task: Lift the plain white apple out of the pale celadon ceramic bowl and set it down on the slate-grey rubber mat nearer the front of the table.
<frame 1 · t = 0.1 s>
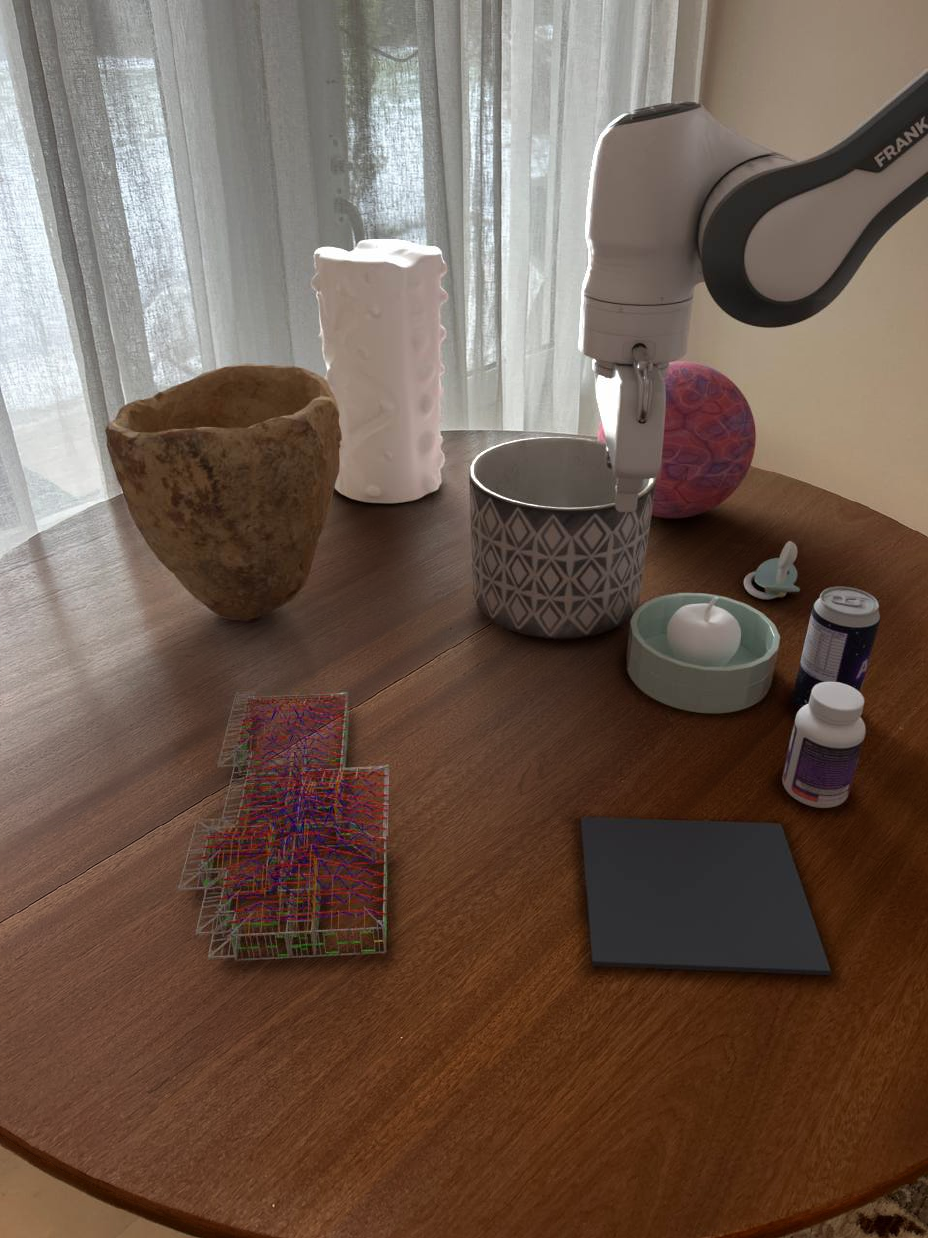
hand: (619, 486, 83), 20 cm above the table, tool pointing down, fingers open, 8 cm apart
vase: (387, 484, 134), on the table
decorative sphere: (666, 512, 126), on the table
pill bottle: (813, 789, 79), on the table
planter: (554, 608, 104), on the table
fruit bowl: (697, 670, 93), on the table
bowl: (251, 610, 104), on the table
pacifier: (769, 590, 108), on the table
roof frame: (298, 822, 76), on the table
plain white apple: (698, 667, 93), resting on fruit bowl
mat: (693, 891, 69), on the table
beverage can: (821, 710, 88), on the table
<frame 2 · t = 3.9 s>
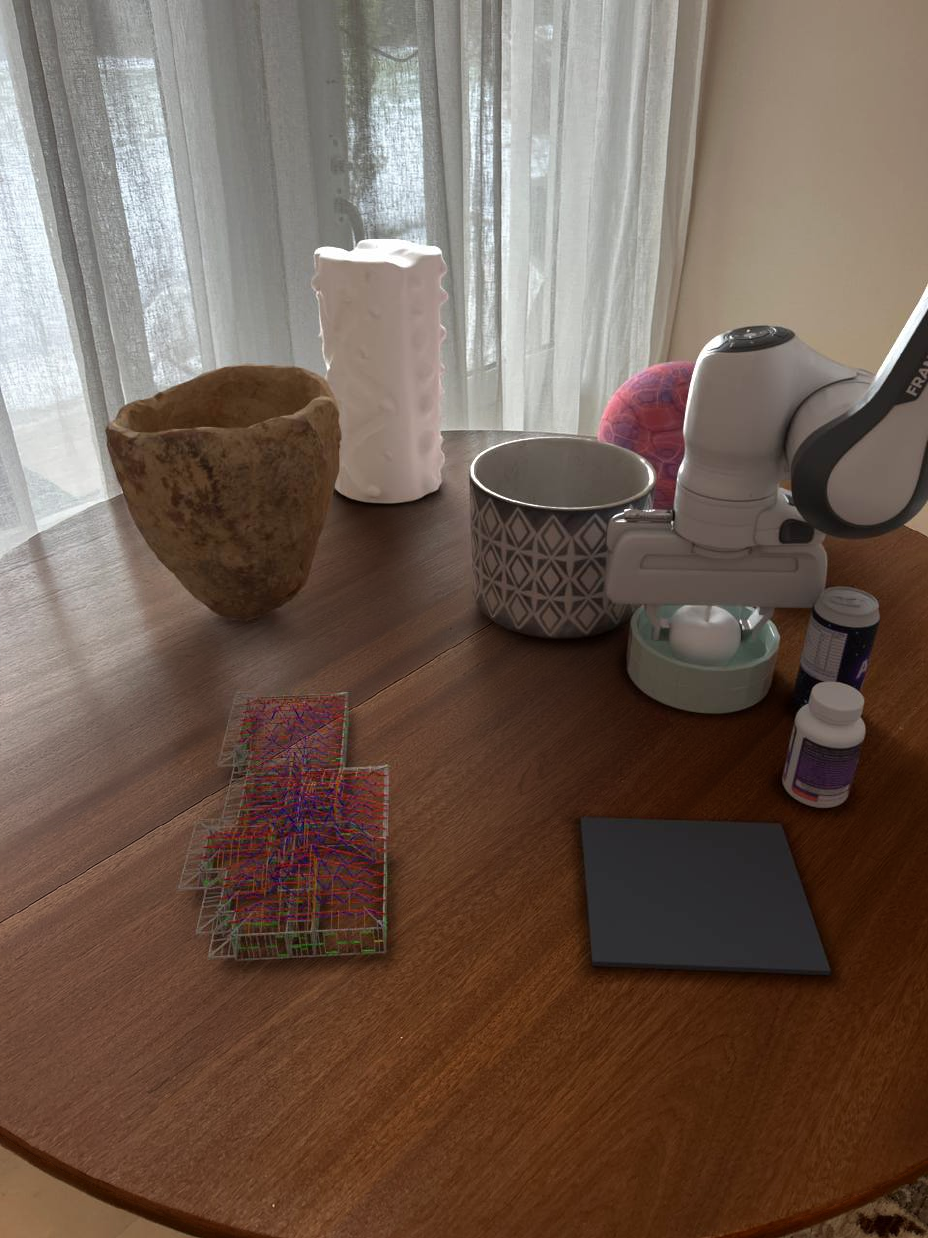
hand: (703, 639, 91), 4 cm above the table, tool pointing down, fingers closed on plain white apple, 7 cm apart
plain white apple: (698, 667, 93), resting on fruit bowl, touching gripper
everything else where it was.
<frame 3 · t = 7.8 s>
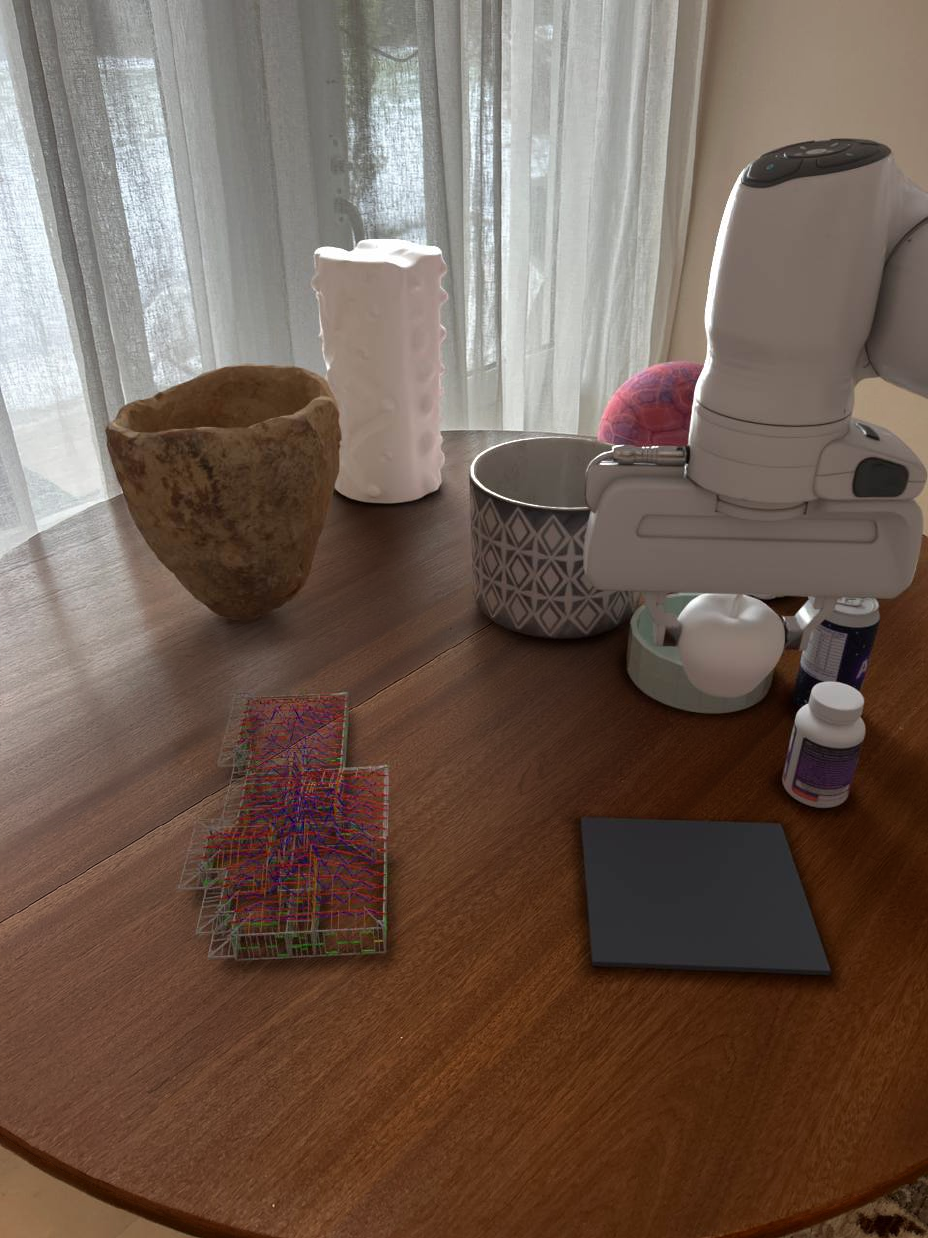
hand: (728, 643, 62), 19 cm above the table, tool pointing down, fingers closed on plain white apple, 7 cm apart
plain white apple: (720, 685, 64), point 16 cm above the table, touching gripper
everything else where it was.
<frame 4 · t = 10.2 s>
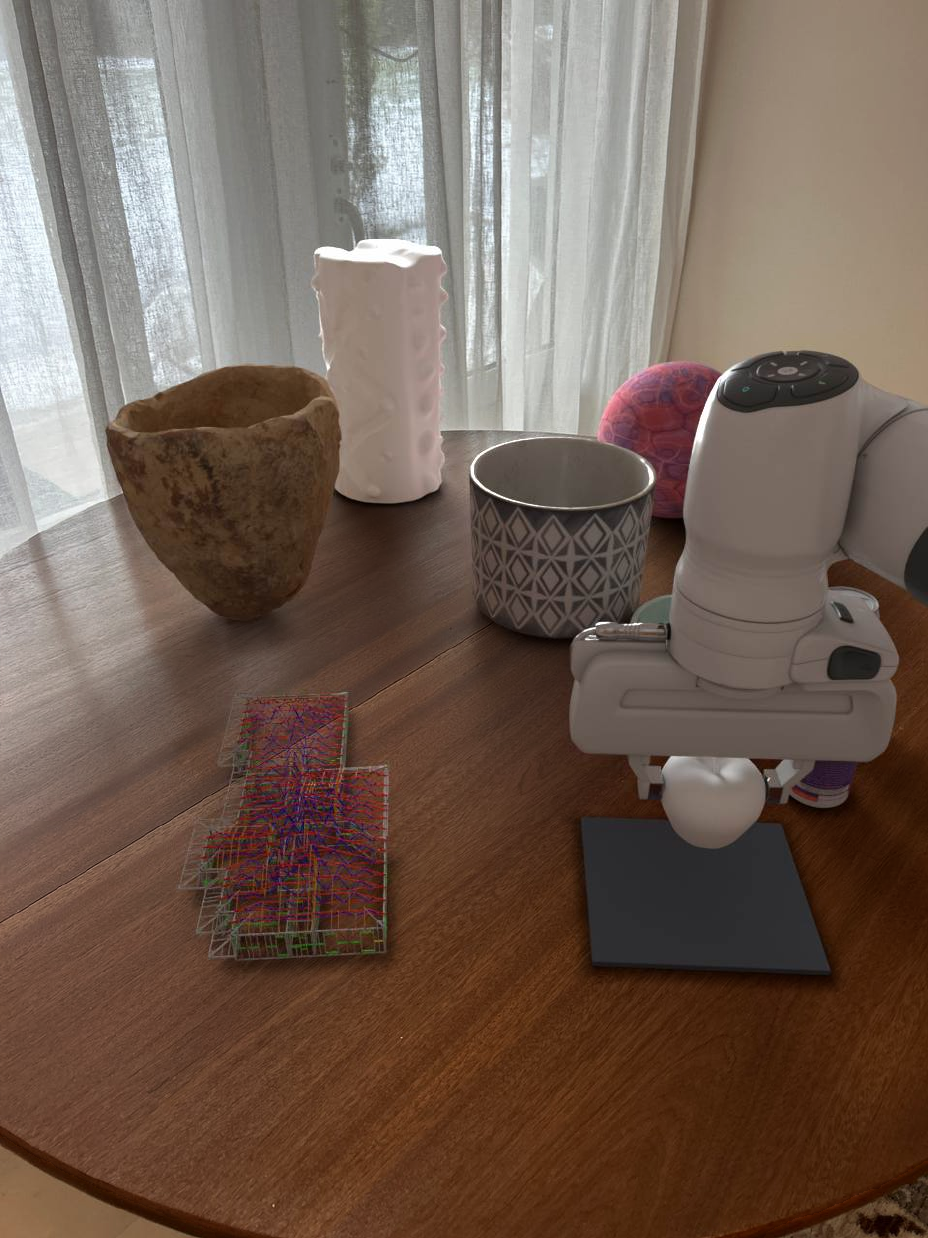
hand: (711, 795, 64), 9 cm above the table, tool pointing down, fingers closed on plain white apple, 7 cm apart
plain white apple: (704, 831, 66), point 6 cm above the table, touching gripper
everything else where it was.
when the fingers open (4 cm above the table, at t = 12.2 s): plain white apple stays where it is, resting on mat.
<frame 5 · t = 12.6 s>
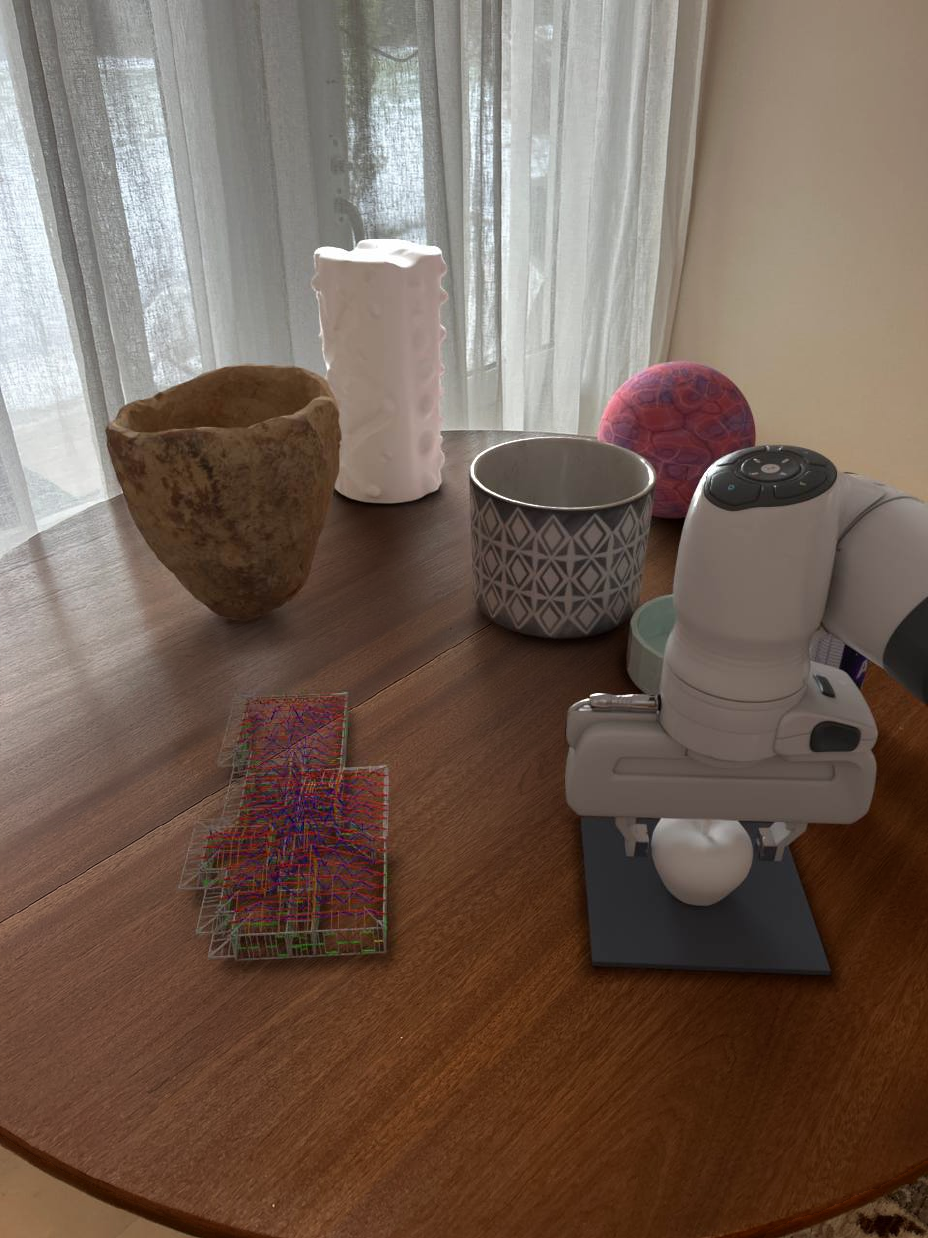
hand: (701, 852, 67), 4 cm above the table, tool pointing down, fingers open, 8 cm apart
plain white apple: (694, 887, 69), resting on mat
everything else where it was.
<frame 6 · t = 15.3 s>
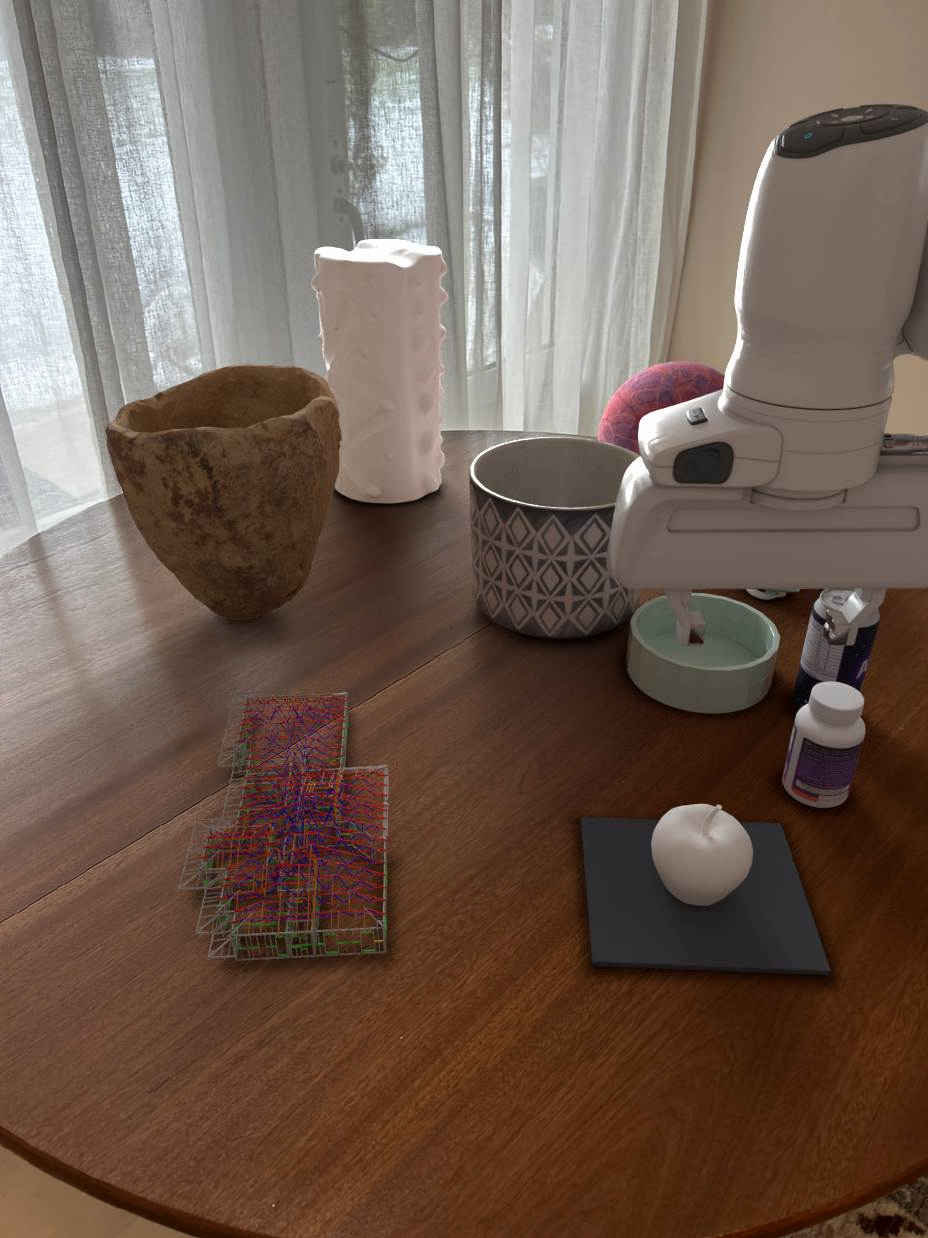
hand: (763, 641, 60), 21 cm above the table, tool pointing down, fingers open, 8 cm apart
nothing on the table moved.
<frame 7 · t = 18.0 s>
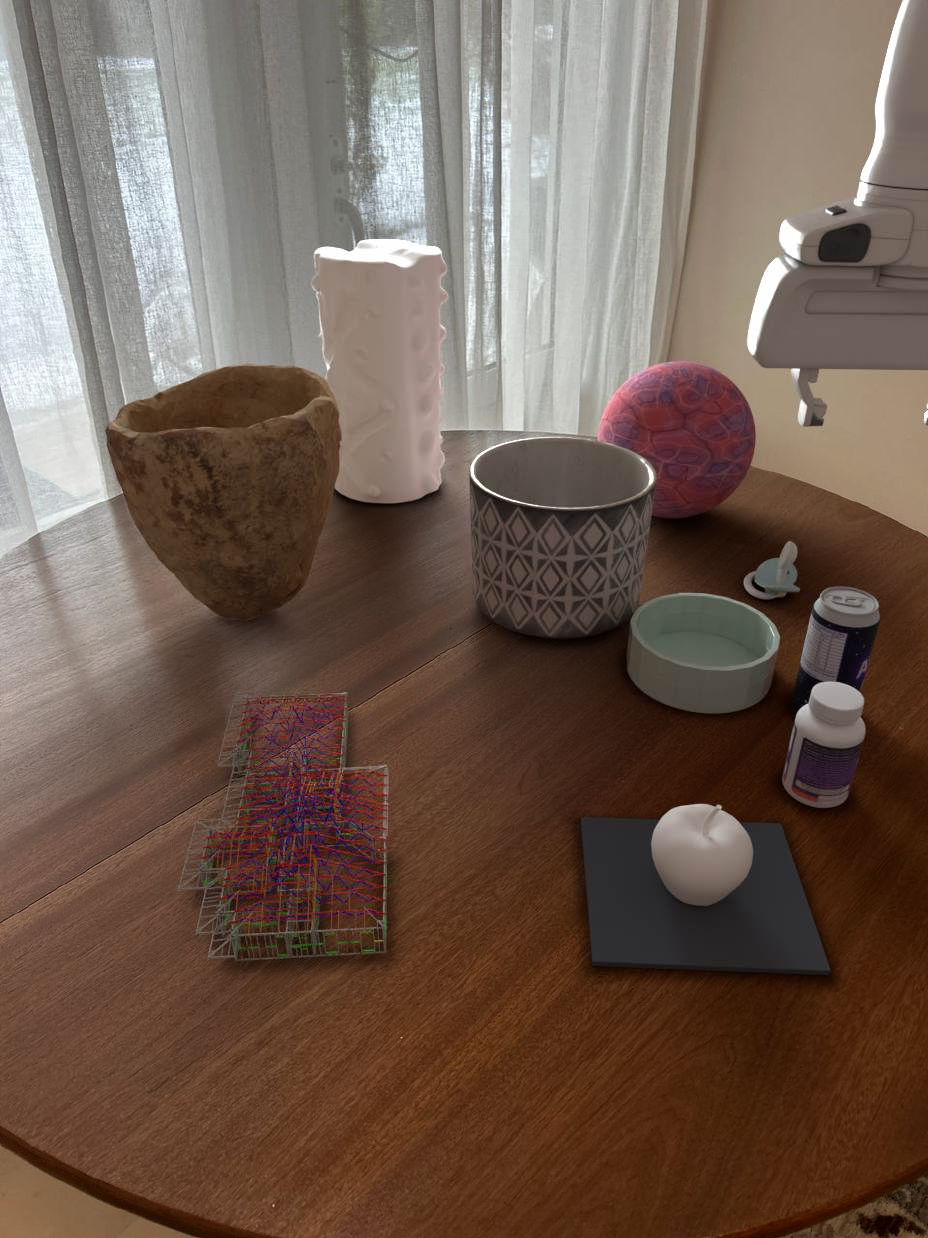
hand: (872, 425, 70), 29 cm above the table, tool pointing down, fingers open, 8 cm apart
nothing on the table moved.
at the end: plain white apple inside the target area on the mat (0.1 cm from its centre), point 0.3 cm above the mat's base; plain white apple 0.1 cm from the mat (horizontally); the gripper is holding nothing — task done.
